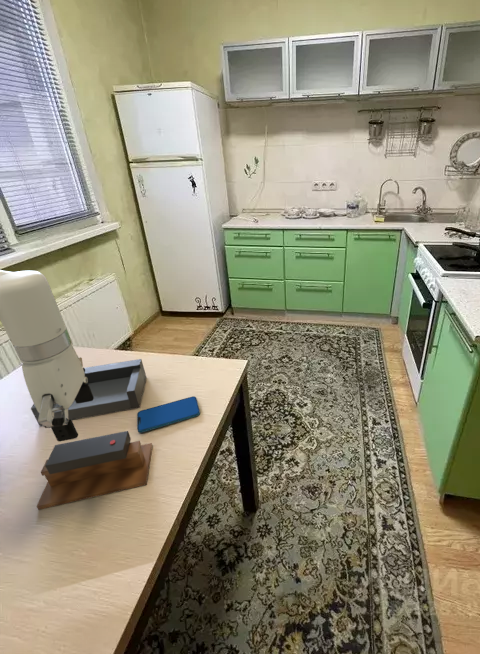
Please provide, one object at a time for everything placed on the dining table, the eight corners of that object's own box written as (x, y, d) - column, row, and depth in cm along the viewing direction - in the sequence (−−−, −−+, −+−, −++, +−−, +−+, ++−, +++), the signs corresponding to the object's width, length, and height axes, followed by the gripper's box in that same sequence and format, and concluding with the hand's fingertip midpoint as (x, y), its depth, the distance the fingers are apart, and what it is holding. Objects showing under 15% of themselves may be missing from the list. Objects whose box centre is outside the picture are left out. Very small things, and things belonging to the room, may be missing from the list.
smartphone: (200, 413, 83) (137, 431, 78) (200, 416, 84) (138, 434, 78) (195, 395, 89) (137, 411, 84) (196, 398, 90) (137, 414, 85)
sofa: (39, 426, 82) (28, 405, 79) (58, 392, 93) (50, 372, 90) (139, 407, 87) (133, 387, 84) (146, 377, 98) (141, 358, 95)
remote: (49, 474, 63) (44, 465, 62) (59, 453, 67) (54, 444, 66) (126, 458, 66) (123, 449, 65) (130, 438, 70) (127, 430, 69)
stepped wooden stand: (38, 509, 63) (26, 490, 60) (57, 465, 72) (48, 446, 69) (146, 484, 67) (139, 465, 64) (152, 445, 76) (147, 427, 73)
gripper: (41, 323, 61) (71, 392, 69) (-11, 380, 46) (35, 461, 54) (84, 317, 63) (109, 385, 70) (47, 371, 48) (85, 451, 55)
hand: (77, 418), depth 62 cm, fingers open, 9 cm apart
